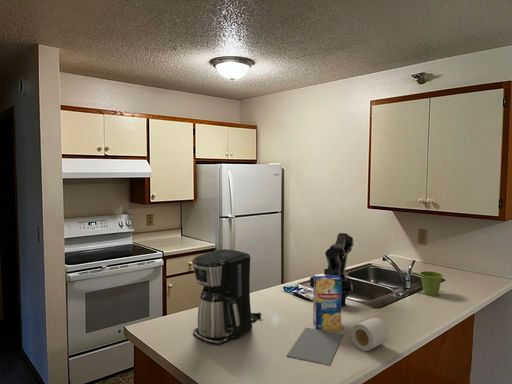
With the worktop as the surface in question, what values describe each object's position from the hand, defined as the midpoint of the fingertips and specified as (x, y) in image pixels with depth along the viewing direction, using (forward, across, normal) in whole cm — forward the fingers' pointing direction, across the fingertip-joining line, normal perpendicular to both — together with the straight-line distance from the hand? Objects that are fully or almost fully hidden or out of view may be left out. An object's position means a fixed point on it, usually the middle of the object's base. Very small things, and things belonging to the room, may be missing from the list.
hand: (327, 301), depth 168 cm
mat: (+22, 0, -8) cm, 24 cm away
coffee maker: (+24, -35, -8) cm, 43 cm away
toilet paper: (+17, +20, -2) cm, 26 cm away
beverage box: (+9, 0, +6) cm, 11 cm away
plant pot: (-35, +43, +50) cm, 75 cm away
